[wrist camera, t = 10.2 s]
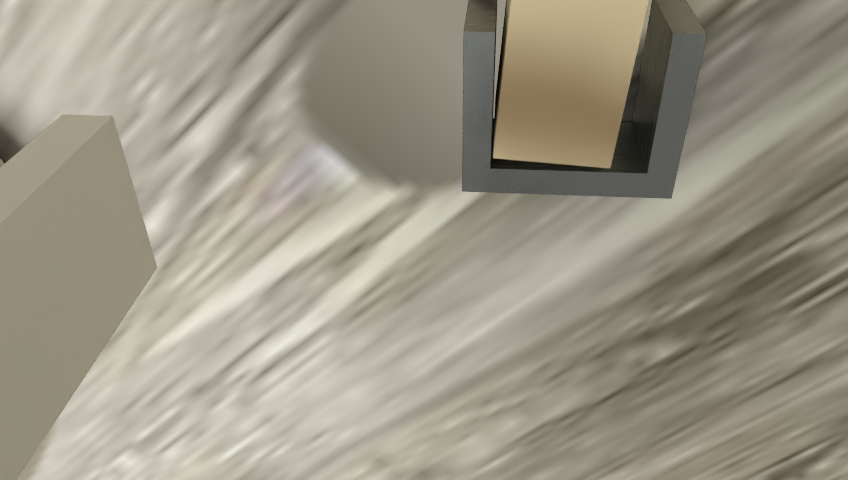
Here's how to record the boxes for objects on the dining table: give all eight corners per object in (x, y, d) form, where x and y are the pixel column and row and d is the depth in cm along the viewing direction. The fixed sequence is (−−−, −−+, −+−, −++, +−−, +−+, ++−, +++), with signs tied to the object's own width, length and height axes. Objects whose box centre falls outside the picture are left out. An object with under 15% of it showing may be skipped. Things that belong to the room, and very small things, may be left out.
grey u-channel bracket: (653, 144, 29) (671, 198, 25) (467, 139, 29) (462, 191, 26) (681, -6, 25) (707, 34, 22) (469, -8, 26) (463, 31, 23)
